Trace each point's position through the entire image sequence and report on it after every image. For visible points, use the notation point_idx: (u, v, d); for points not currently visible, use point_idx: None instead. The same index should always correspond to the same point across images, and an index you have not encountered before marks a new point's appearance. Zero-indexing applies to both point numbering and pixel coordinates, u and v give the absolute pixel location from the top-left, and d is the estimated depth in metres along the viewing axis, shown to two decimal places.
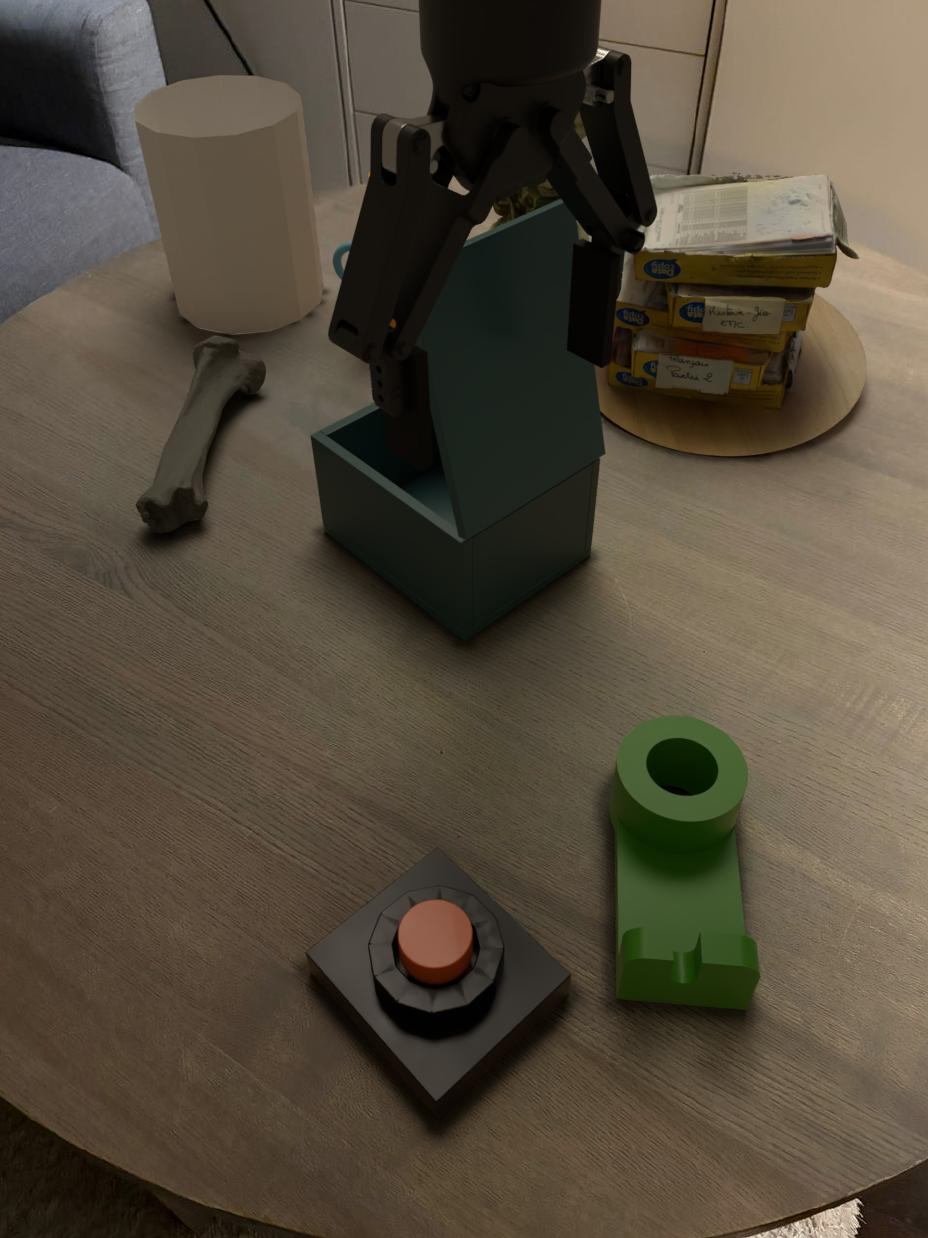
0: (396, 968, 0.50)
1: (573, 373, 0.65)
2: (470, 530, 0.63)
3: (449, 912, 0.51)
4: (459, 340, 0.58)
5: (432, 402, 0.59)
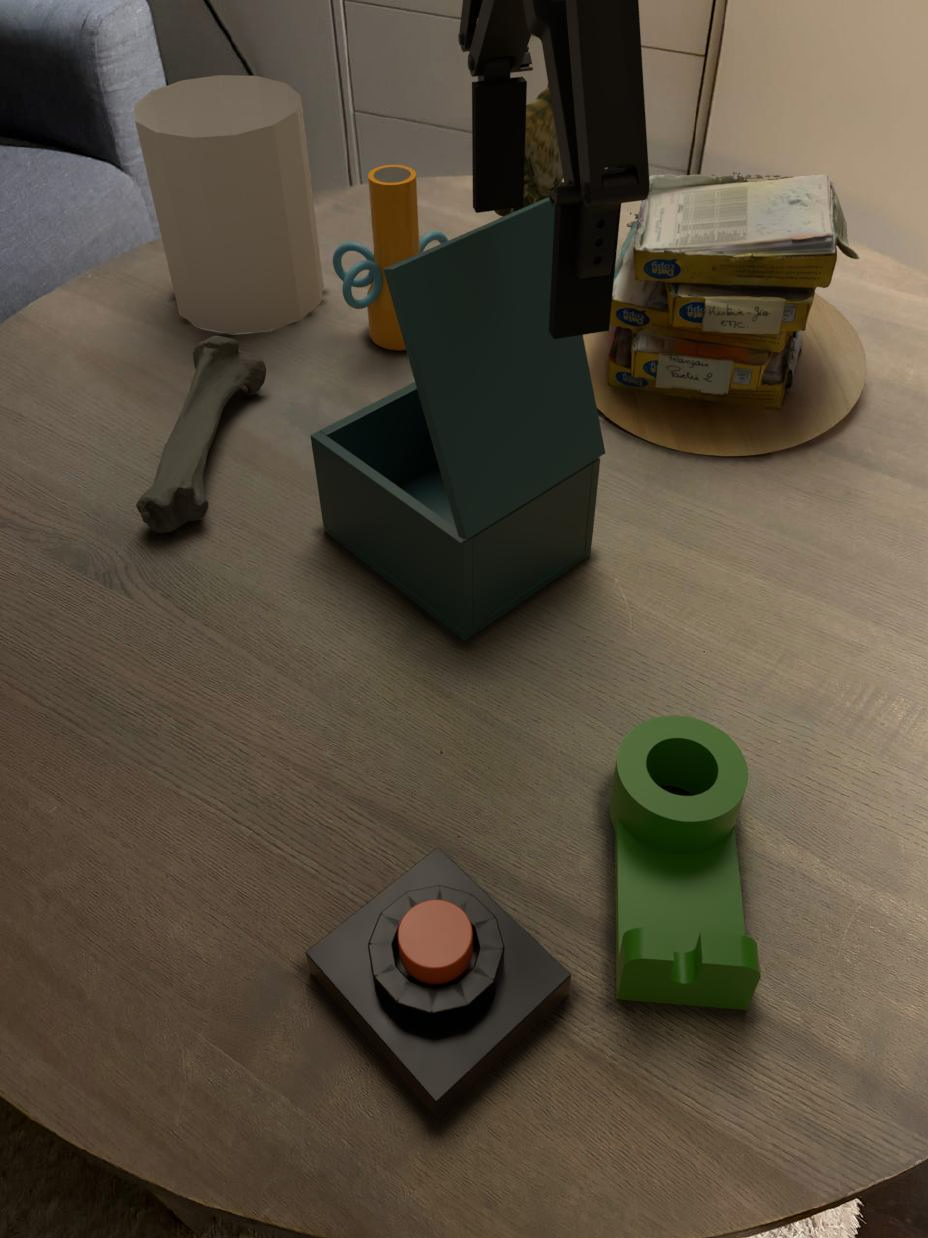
0: (396, 968, 0.50)
1: (566, 372, 0.65)
2: (469, 529, 0.63)
3: (449, 912, 0.51)
4: (447, 338, 0.59)
5: (423, 400, 0.59)
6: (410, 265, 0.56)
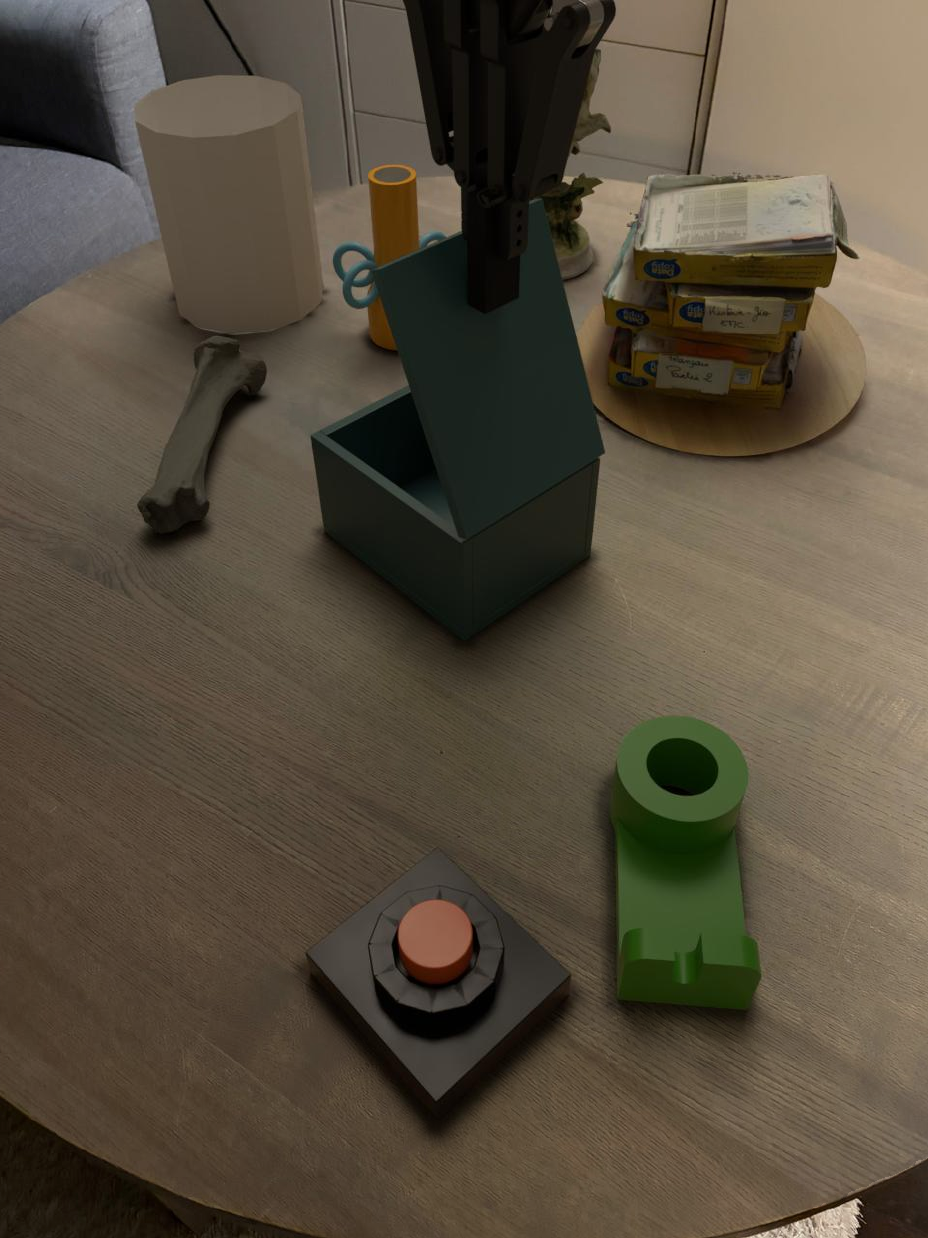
0: (396, 968, 0.50)
1: (561, 371, 0.66)
2: (469, 529, 0.63)
3: (449, 912, 0.51)
4: (438, 337, 0.59)
5: (417, 399, 0.60)
6: (397, 265, 0.57)
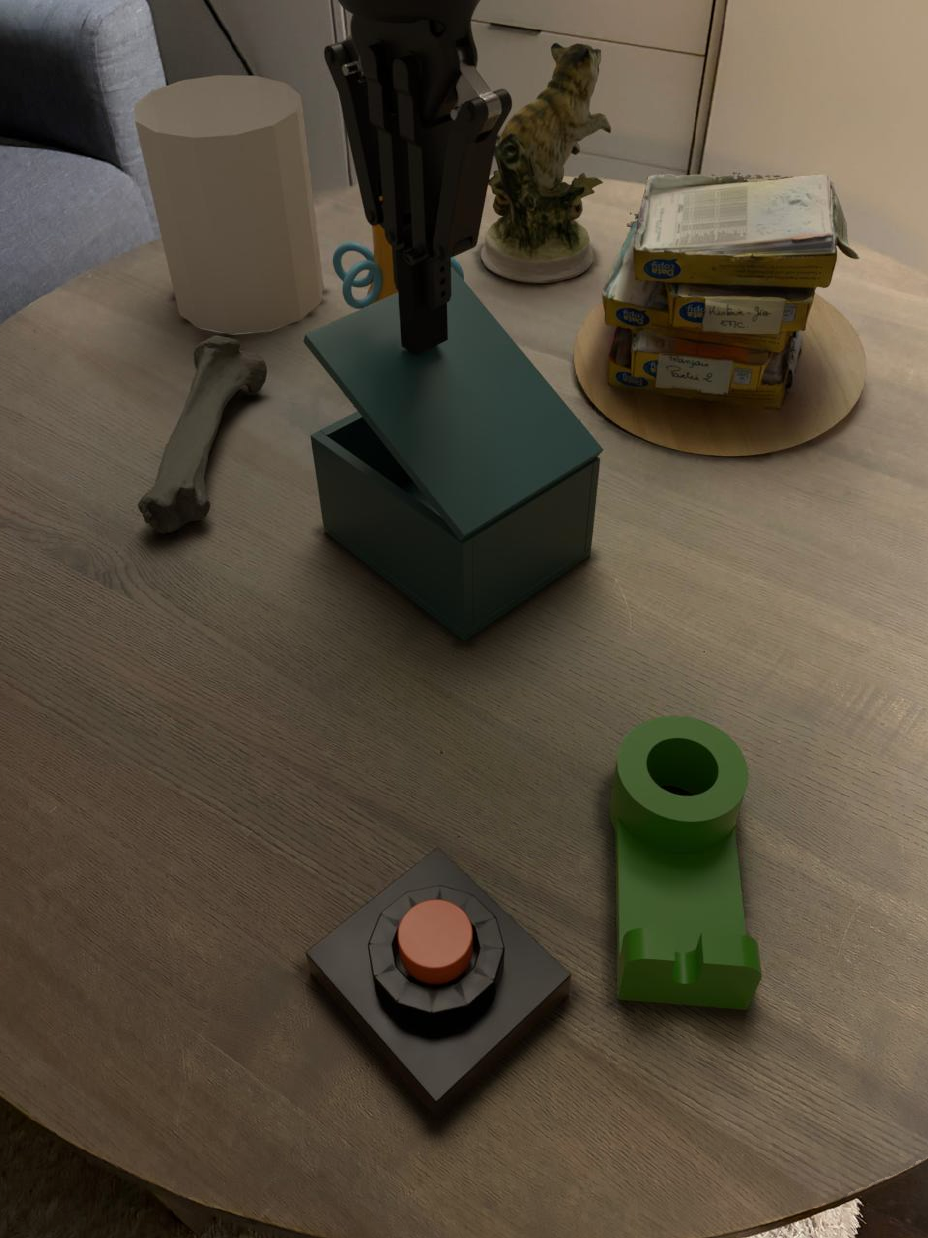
0: (396, 968, 0.50)
1: (522, 387, 0.69)
2: (464, 526, 0.64)
3: (449, 912, 0.51)
4: (379, 375, 0.66)
5: (374, 427, 0.65)
6: (322, 329, 0.66)
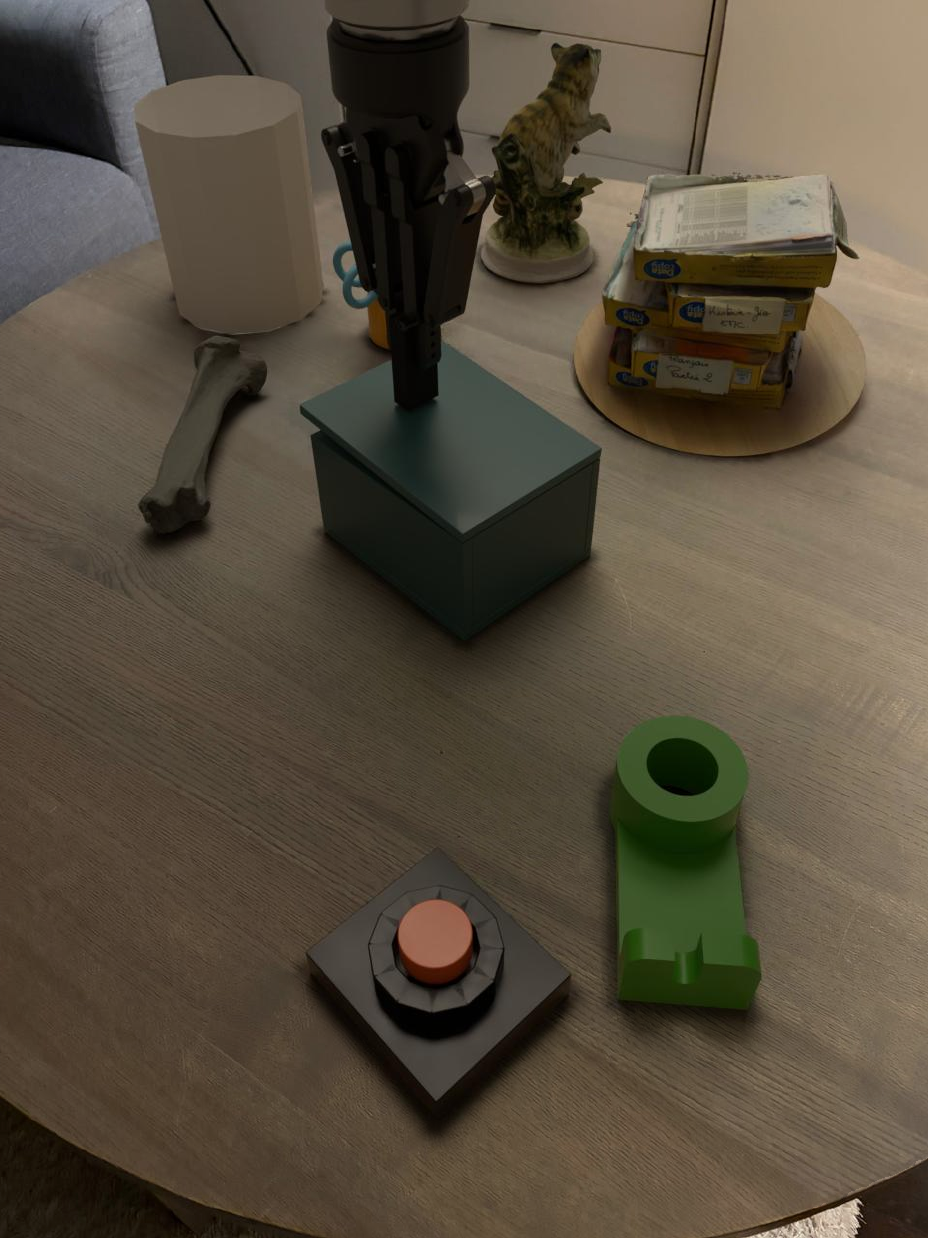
0: (396, 968, 0.50)
1: (513, 412, 0.71)
2: (462, 526, 0.64)
3: (449, 912, 0.51)
4: (370, 423, 0.70)
5: (368, 464, 0.68)
6: (315, 398, 0.72)
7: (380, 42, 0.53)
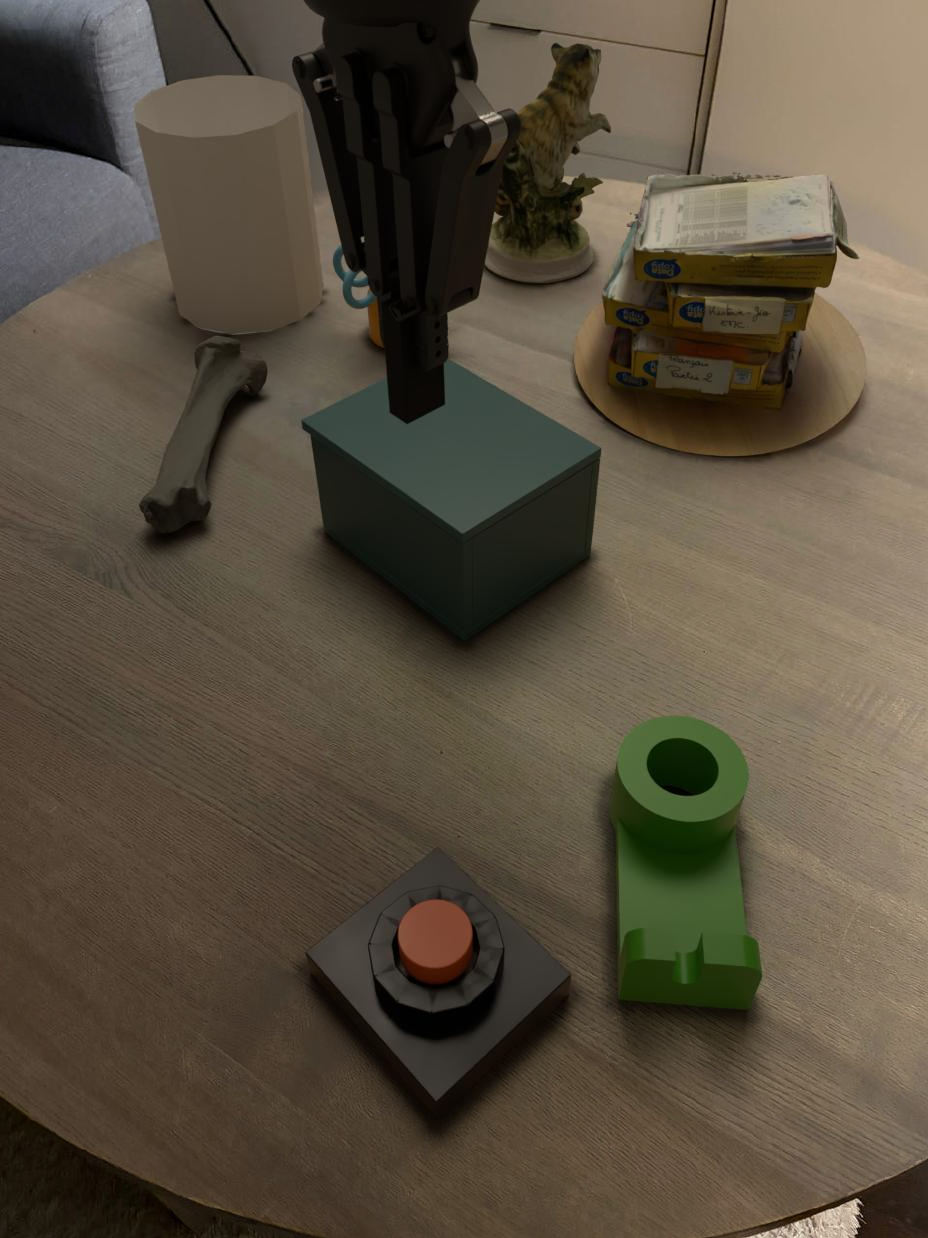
0: (396, 968, 0.50)
1: (512, 418, 0.72)
2: (462, 526, 0.64)
3: (449, 912, 0.51)
4: (371, 434, 0.71)
5: (369, 472, 0.69)
6: (317, 413, 0.73)
7: None
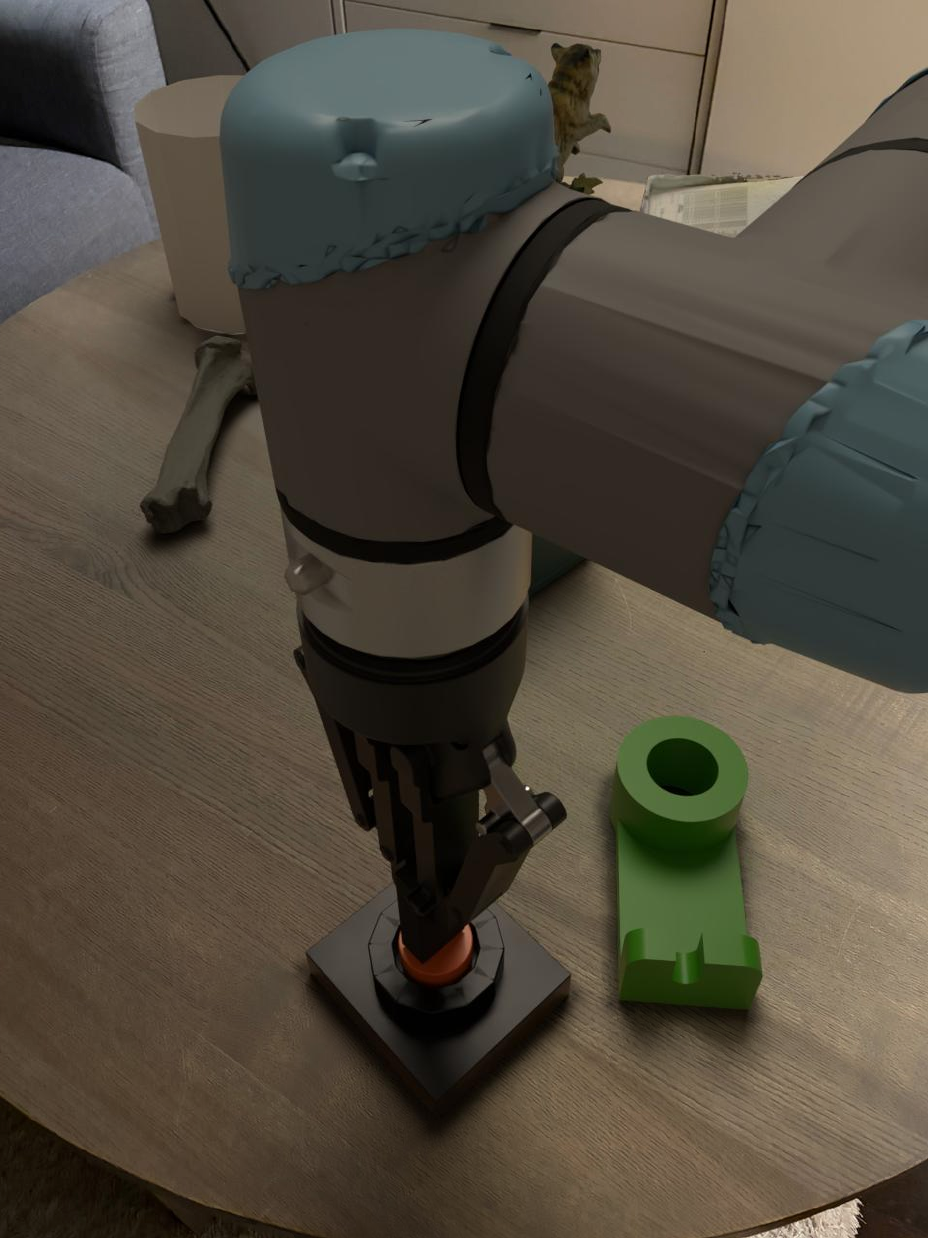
0: (396, 968, 0.50)
1: None
2: None
3: None
4: None
5: None
6: None
7: (384, 663, 0.31)
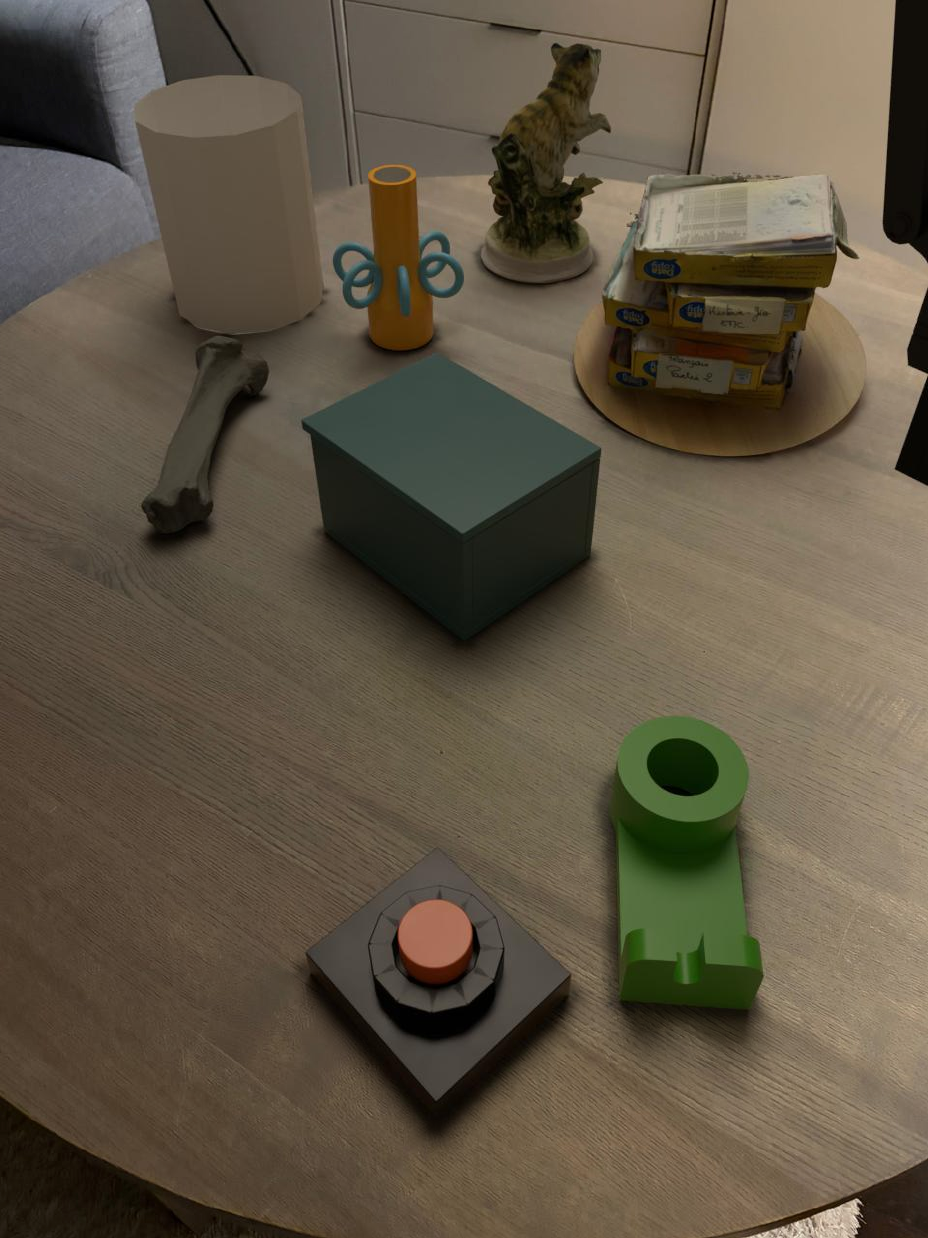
0: (396, 968, 0.50)
1: (512, 418, 0.72)
2: (462, 526, 0.64)
3: (449, 912, 0.51)
4: (371, 434, 0.71)
5: (369, 472, 0.69)
6: (317, 413, 0.73)
7: None
